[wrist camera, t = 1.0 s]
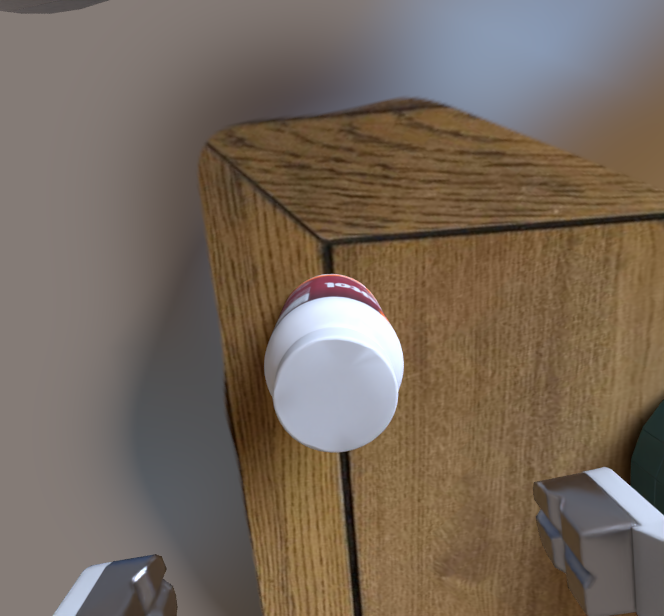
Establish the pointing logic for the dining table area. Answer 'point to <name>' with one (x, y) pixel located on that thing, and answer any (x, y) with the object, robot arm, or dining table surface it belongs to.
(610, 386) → the dining table surface
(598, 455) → the dining table surface
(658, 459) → the bowl
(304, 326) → the pill bottle
